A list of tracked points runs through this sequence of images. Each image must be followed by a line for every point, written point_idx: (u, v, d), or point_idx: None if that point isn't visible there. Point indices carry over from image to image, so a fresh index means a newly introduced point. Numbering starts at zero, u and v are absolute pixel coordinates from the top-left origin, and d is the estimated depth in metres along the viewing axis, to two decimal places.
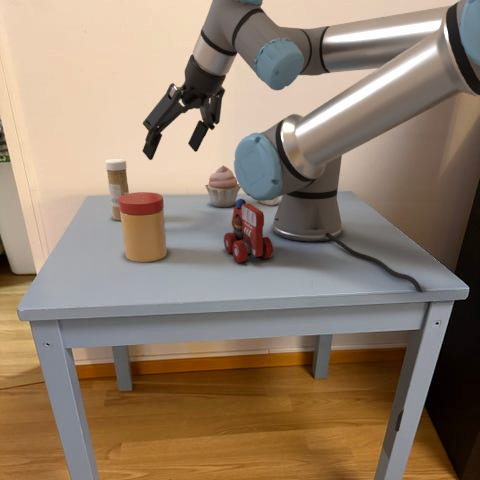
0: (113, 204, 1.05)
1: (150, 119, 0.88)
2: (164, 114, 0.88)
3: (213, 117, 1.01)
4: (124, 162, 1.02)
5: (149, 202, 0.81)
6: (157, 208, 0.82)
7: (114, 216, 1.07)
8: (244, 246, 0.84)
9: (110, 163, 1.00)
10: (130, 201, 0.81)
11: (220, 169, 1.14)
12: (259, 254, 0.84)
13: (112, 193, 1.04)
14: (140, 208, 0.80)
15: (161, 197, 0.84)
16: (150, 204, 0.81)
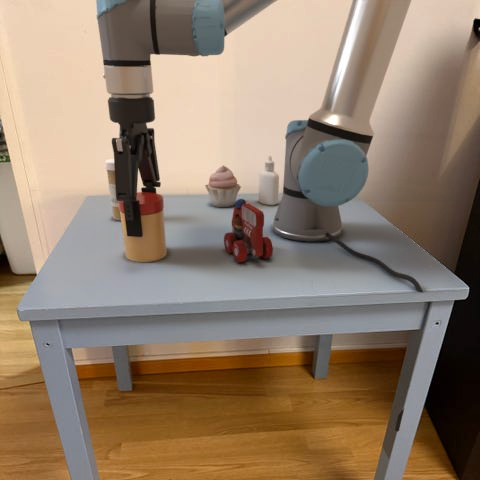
0: (113, 204, 1.05)
1: (120, 189, 0.75)
2: (129, 172, 0.75)
3: None
4: None
5: (149, 202, 0.81)
6: (157, 208, 0.82)
7: (114, 216, 1.07)
8: (244, 246, 0.84)
9: (110, 163, 1.00)
10: None
11: (220, 169, 1.14)
12: (259, 254, 0.84)
13: (112, 193, 1.04)
14: (140, 208, 0.80)
15: (161, 197, 0.84)
16: (150, 204, 0.81)
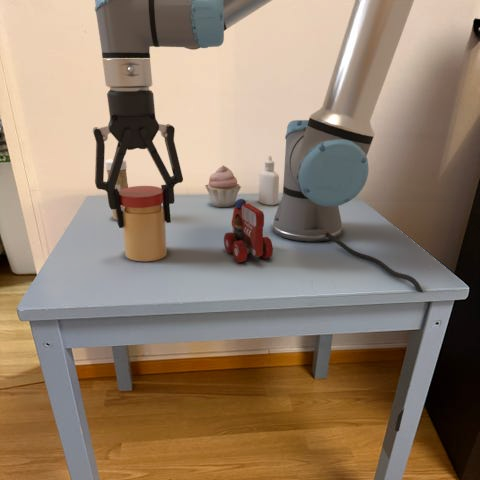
0: None
1: None
2: None
3: None
4: (124, 162, 1.02)
5: (151, 186, 0.86)
6: None
7: (114, 216, 1.07)
8: (244, 246, 0.84)
9: (110, 163, 1.00)
10: (156, 191, 0.83)
11: (220, 169, 1.14)
12: (259, 254, 0.84)
13: None
14: None
15: (132, 187, 0.86)
16: None
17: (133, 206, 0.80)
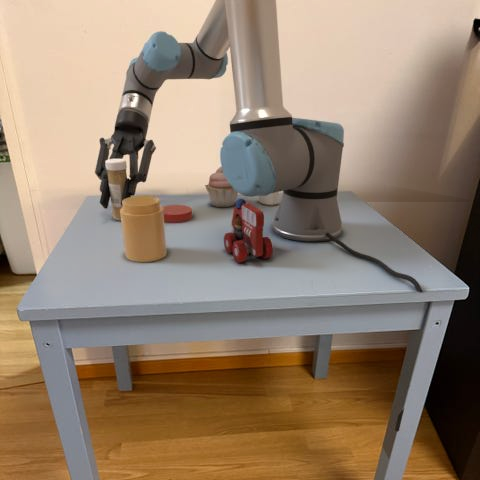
0: (113, 204, 1.05)
1: (145, 171, 1.04)
2: None
3: None
4: (124, 162, 1.02)
5: (182, 205, 1.12)
6: None
7: (114, 216, 1.07)
8: (244, 246, 0.84)
9: (110, 163, 1.00)
10: (186, 209, 1.09)
11: (220, 169, 1.14)
12: (259, 254, 0.84)
13: (112, 193, 1.04)
14: None
15: None
16: None
17: (170, 221, 1.06)
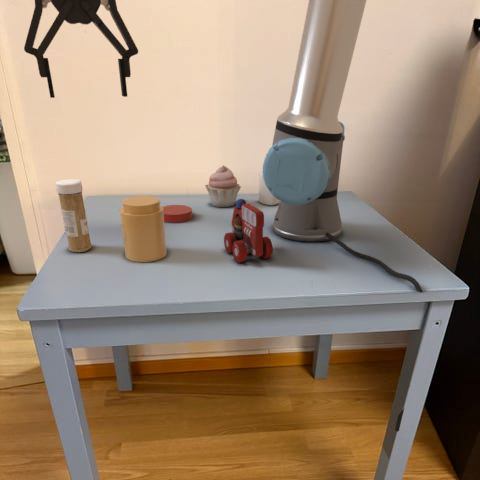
0: (67, 233, 0.88)
1: None
2: None
3: None
4: (79, 184, 0.84)
5: (182, 205, 1.12)
6: None
7: (69, 247, 0.90)
8: (244, 246, 0.84)
9: (61, 185, 0.83)
10: (186, 209, 1.09)
11: (220, 169, 1.14)
12: (259, 254, 0.84)
13: (65, 220, 0.86)
14: None
15: None
16: None
17: (170, 221, 1.06)
